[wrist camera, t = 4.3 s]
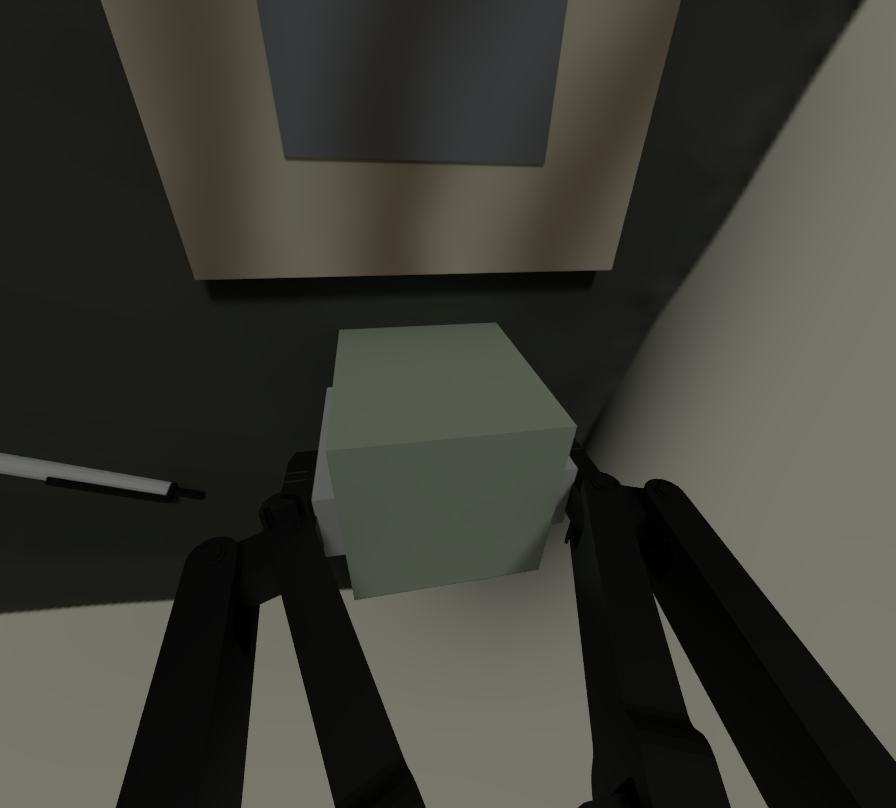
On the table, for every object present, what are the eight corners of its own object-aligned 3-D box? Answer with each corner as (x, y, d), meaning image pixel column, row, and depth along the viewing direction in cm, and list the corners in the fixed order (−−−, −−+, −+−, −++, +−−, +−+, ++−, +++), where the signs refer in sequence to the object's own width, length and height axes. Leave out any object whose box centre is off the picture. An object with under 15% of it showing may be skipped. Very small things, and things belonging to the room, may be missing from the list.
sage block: (356, 454, 20) (354, 600, 14) (339, 330, 16) (325, 451, 10) (483, 440, 21) (538, 569, 15) (496, 322, 17) (577, 425, 11)
